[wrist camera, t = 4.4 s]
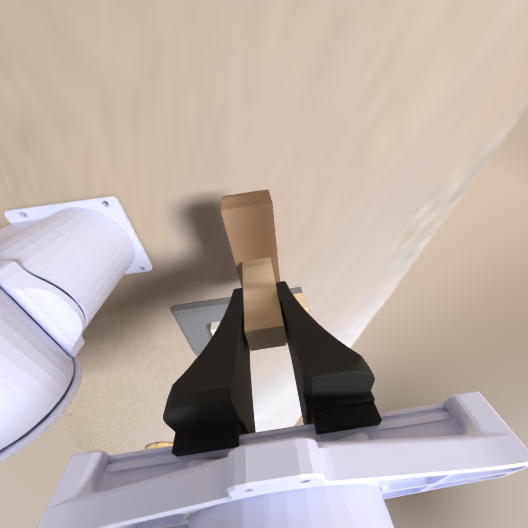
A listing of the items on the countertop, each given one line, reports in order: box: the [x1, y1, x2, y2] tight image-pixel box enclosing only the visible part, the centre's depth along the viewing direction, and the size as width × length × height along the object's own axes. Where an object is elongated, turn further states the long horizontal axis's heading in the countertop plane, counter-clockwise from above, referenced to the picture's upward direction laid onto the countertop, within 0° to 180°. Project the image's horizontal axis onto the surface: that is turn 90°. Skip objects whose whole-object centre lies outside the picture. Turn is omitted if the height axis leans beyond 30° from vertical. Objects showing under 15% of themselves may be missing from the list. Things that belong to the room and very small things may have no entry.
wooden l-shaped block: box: [221, 189, 286, 351], centre depth 14 cm, size 3×10×8 cm, turn 7°
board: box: [173, 287, 308, 356], centre depth 28 cm, size 16×10×4 cm, turn 96°
